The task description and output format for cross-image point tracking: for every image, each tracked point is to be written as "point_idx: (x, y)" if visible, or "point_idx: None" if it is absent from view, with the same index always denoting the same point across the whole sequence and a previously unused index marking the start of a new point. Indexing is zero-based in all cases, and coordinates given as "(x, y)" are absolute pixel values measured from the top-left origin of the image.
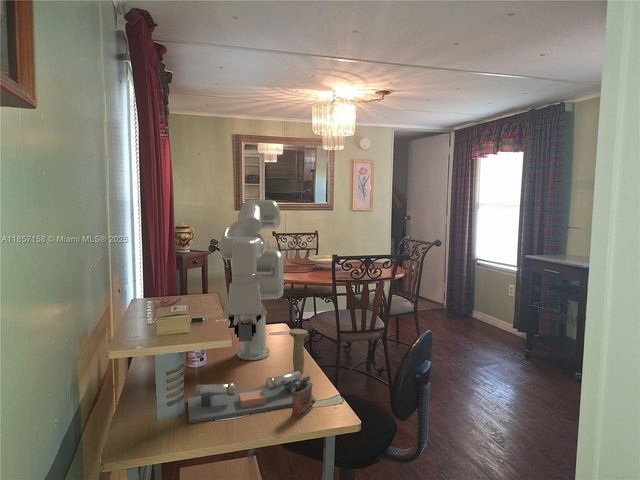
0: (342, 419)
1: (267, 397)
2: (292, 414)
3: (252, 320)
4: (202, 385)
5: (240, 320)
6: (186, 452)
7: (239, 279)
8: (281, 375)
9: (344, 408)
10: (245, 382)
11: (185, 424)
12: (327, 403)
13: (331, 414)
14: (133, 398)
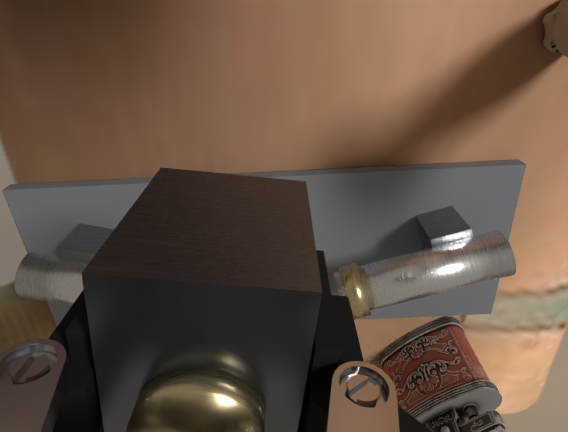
0: (508, 394)
1: (329, 263)
2: (381, 367)
3: (319, 412)
4: (42, 293)
5: (116, 313)
6: None
7: None
8: (415, 284)
9: (551, 353)
10: (257, 65)
11: (54, 324)
12: (520, 318)
13: (494, 370)
14: None
